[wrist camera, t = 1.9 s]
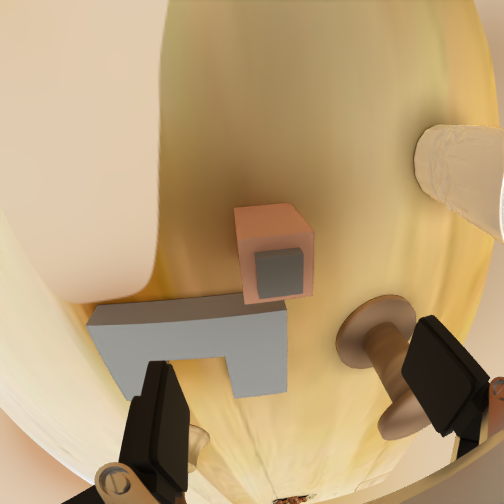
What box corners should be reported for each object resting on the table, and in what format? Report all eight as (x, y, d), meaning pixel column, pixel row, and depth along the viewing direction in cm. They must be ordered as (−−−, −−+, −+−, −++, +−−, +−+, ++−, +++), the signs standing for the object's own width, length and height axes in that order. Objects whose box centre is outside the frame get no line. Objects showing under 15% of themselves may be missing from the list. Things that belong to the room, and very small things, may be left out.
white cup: (469, 126, 18) (552, 144, 9) (462, 205, 21) (537, 247, 12) (408, 111, 18) (506, 118, 9) (403, 204, 21) (488, 255, 12)
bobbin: (340, 303, 24) (394, 398, 14) (419, 287, 25) (484, 358, 15) (331, 369, 28) (364, 453, 18) (400, 351, 28) (444, 420, 18)
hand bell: (221, 433, 32) (227, 538, 17) (193, 452, 34) (194, 541, 20) (163, 414, 29) (153, 530, 15) (142, 436, 32) (132, 531, 17)
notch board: (279, 288, 23) (286, 309, 20) (281, 369, 27) (286, 391, 24) (97, 305, 22) (85, 325, 19) (132, 379, 26) (126, 400, 24)
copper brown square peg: (233, 207, 20) (238, 245, 14) (289, 202, 20) (318, 237, 14) (238, 258, 22) (245, 312, 15) (291, 253, 22) (316, 303, 16)
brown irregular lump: (315, 495, 55) (317, 505, 51) (273, 503, 54) (274, 513, 51) (317, 490, 52) (319, 500, 49) (271, 498, 51) (273, 509, 48)
